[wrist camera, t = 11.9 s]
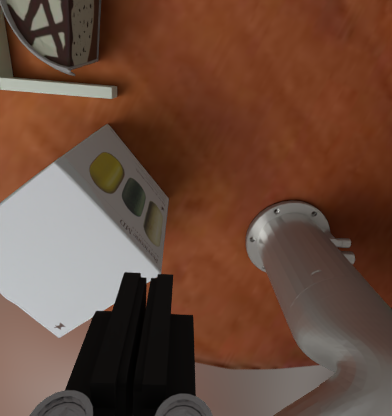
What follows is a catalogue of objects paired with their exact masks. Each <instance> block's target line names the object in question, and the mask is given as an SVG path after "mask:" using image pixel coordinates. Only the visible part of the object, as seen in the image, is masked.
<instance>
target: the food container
mask: <svg viewBox="0 0 392 416" xmlns="http://www.w3.org/2000/svg"><path fill="white" fill-rule="evenodd" d="M0 5H1V7H2V10H3V12H4V15H5V17H6V19H7V21H8V23H9V24H10V26H11V28H12V30H13V31H14V33H15V34H16V36H17V37H18V38H19V40H20V41H21V42H22V43H23V44H24V45H25V47H26V48H27V49H28V50H29V51H30V52H31V53H33V54H34V55H35V56H36V57H37V58H39V59H40V60H42V61H43V62H45V63H46V64H48V65H50V66H51V67H53V68H55V69H57V70H59V71H61V72H63V73H66V74H69V75H73V76H75V74H74V73H72V72H71V70H72V69H76V68H79V67H82V66H85V65H88V64H91V63H95V62H98V54H99V33H100V13H101V0H0Z"/></svg>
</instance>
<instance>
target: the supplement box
mask: <svg viewBox="0 0 392 416" xmlns="http://www.w3.org/2000/svg"><path fill="white" fill-rule="evenodd" d="M168 203H169V198H168V197H167V196H166V195H165V193H164V192H163V191H162V190H161V188H160V187H159V186H158V185H157V183H156V182H155V181H154V180H153V178H152V177H151V176H150V175H149V174H148V172H147V171H146V170H145V169H144V167H143V166H142V165H141V164H140V162H139V161H138V160H137V159H136V158H135V156H134V155H133V154H132V153H131V151H130V150H129V149H128V148H127V146H126V145H125V144H124V143H123V141H122V140H121V139H120V138H119V137H118V135H117V134H116V133H115V132H114V130H113V129H112V128H111V127H110V125H108V124H106V125H105V126H103V127H102V128H100V129H99V130H98V131H96V132H95V133H93V134H92V135H91V136H89V137H88V138H86V139H85V140H84V141H82V142H81V143H79V144H78V145H77V146H75V147H74V148H73V149H71V150H70V151H68V152H67V153H66V154H64V155H63V156H61V157H60V158H58V159H57V160H56V161H54V162H53V163H52V164H50V165H49V166H48V167H46V168H45V169H43V170H42V171H41V172H39V173H38V174H37V175H35V176H34V177H33V178H31V179H30V180H29V181H28V182H26V183H25V184H24V185H22V186H21V187H20V188H19V189H17V190H16V191H15V192H13V193H12V194H11V195H10V196H8V197H7V198H6V199H4V200H3V201H2V202H1V203H0V293H1V294H2V295H3V296H4V297H5V298H6V299H8V300H9V301H11V302H12V303H14V304H16V305H17V306H18V307H20V308H21V309H22V310H23V311H25V312H26V313H27V314H29V315H30V316H31V317H32V318H34V319H35V320H36V321H38V322H39V323H40V324H42V325H43V326H44V327H45V328H47V329H48V330H49V331H51V332H52V333H53V334H54V335H56V336H57V337H59V338H60V337H62V336H63V335H65V334H66V333H68V332H69V331H71V330H73V329H74V328H76V327H77V326H79V325H81V324H82V323H84V322H86V321H87V320H89V319H91V318H92V317H93V316H94V314H95V312H96V311H103V310H105V309H107V308H108V307H110V306H111V305H113V304H115V300H116V297H117V294H118V291H119V288H120V284H121V281H122V278H123V275H124V273H125V272H132V273H141V277H144V278H146V279H147V282H146V283H148V282H150V281H151V278H156V277H157V275H158V274H161V267H162V258H163V248H164V239H165V230H166V220H167V212H168Z"/></svg>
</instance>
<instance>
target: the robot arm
mask: <svg viewBox="0 0 392 416" xmlns="http://www.w3.org/2000/svg"><path fill="white" fill-rule="evenodd" d="M275 209H276V210H275ZM274 210H275V211H274ZM251 237H252V238H251ZM350 246H351V240H350V239H349V238H335V237H334V236H333V235H332V234H331V233H330V227H329V224H328V221H327V219H326V218H325V216H324V215H323V214H322V213H321V212H320V211H319V210H318V209H317V208H316V207H314V206H313V205H311V204H308V203H306V202H302V201H283V202H280V203H276V204H274V205H272V206H270V207H267V208H266V209H265V210H263V211H262V212H260V213H259V214H258V215H257V216H256V217H255V218H254V220H253V221H252V223H251V224H250V226H249V228H248V231H247V234H246V249H247V253H248V255H249V258H250V259H251V261H252V262H253V263H254V265H255V266H256V267H258V268H259V269H260V270H262V271H264V272H267V275H268V277H269V279H270V282H271V284H272V287H273V289H274V292H275V294H276V296H277V299H278V301H279V304H280V306H281V309H282V311H283V313H284V316H285V318H286V321H287V323H288V325H289V328H290V330H291V332H292V335H293V337H294V339H295V341H296V343H297V344H298V346H299V347H300V349H301V350H302V351H303V352H304V353H305V354H306V355H307V356H308V357H309V358H311V359H312V360H314V361H315V362H316V363H318V364H320V365H322V366H324V367H325V368H327V369H330V370H331V371H334V372H335V374H334V375H333V376H332V377H330V378H329V379H328V380H326V381H325V382H323V383H322V384H320V386H319V387H317V388H316V389H314V390H312V391H311V392H309V393H308V394H306V395H304V396H303V397H301V398H300V399H298V400H297V401H295V402H293V403H292V404H290V405H289V406H287V407H285V408H284V409H282V410H281V411H280V412H278V413H276V414H275V415H274V416H392V309H391V308H390V307H389V306H388V305H387V304H386V303H385V301H384V300H383V299H382V298H381V297H380V296H379V295H378V293H377V292H376V291H375V290H374V289H373V288H372V287H371V286H370V284H369V283H368V282H367V281H366V280H365V279H364V278H363V276H362V275H361V274H360V273H359V272H358V271H357V270H356V268H355V267H354V266H353V265H352V264H354V261H355V256H354V253H353V252H350V251H340V250H339V249H338V248H337V247H341V248H349V247H350ZM146 282H147V279H146V278H144V277H141V273H132V272H125V273H124V275H123V278H122V281H121V284H120V288H119V291H118V294H117V297H116V300H115V304H114V307H113V310H112V311H96V312H95V314H94V316H93V318H92V321H91V324H90V326H89V329H88V331H87V334H86V337H85V339H84V342H83V344H82V347H81V350H80V353H79V355H78V358H77V360H76V363H75V365H74V368H73V371H72V373H71V376H70V378H69V381H68V384H67V386H66V389H65V391H61V392H57V393H55V394H53V395H51V396H49V397H47V398H46V399H44V400H43V401H42V402H41V403H40V404H38V405H37V407H36V408H35V409H34V410H33V412H32V413H31V414H30V416H213V415H212V413H211V410H210V409H209V407H208V406H207V405H206V403H205V402H204V401H202V400H201V399H199V398H198V397H196V394H195V360H194V327H193V315H177V314H171V301H172V286H173V275H167V274H158V275H157V278H151V282H150V288H149V293H148V299H147V305H146Z"/></svg>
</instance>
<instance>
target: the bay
mask: <svg viewBox="0 0 392 416" xmlns="http://www.w3.org/2000/svg"><path fill="white" fill-rule="evenodd" d="M0 90H12V91H24V92H36V93H48V94H60V95H72V96H84V97H96V98H108V99H113V98H116V97H117V86H109V85H98V84H86V83H75V82H63V81H52V80H40V79H28V78H17V77H13V71H12V65H11V58H10V52H9V46H8V39H7V33H6V27H5V20H4V14H3V10H2V7H1V5H0Z"/></svg>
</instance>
